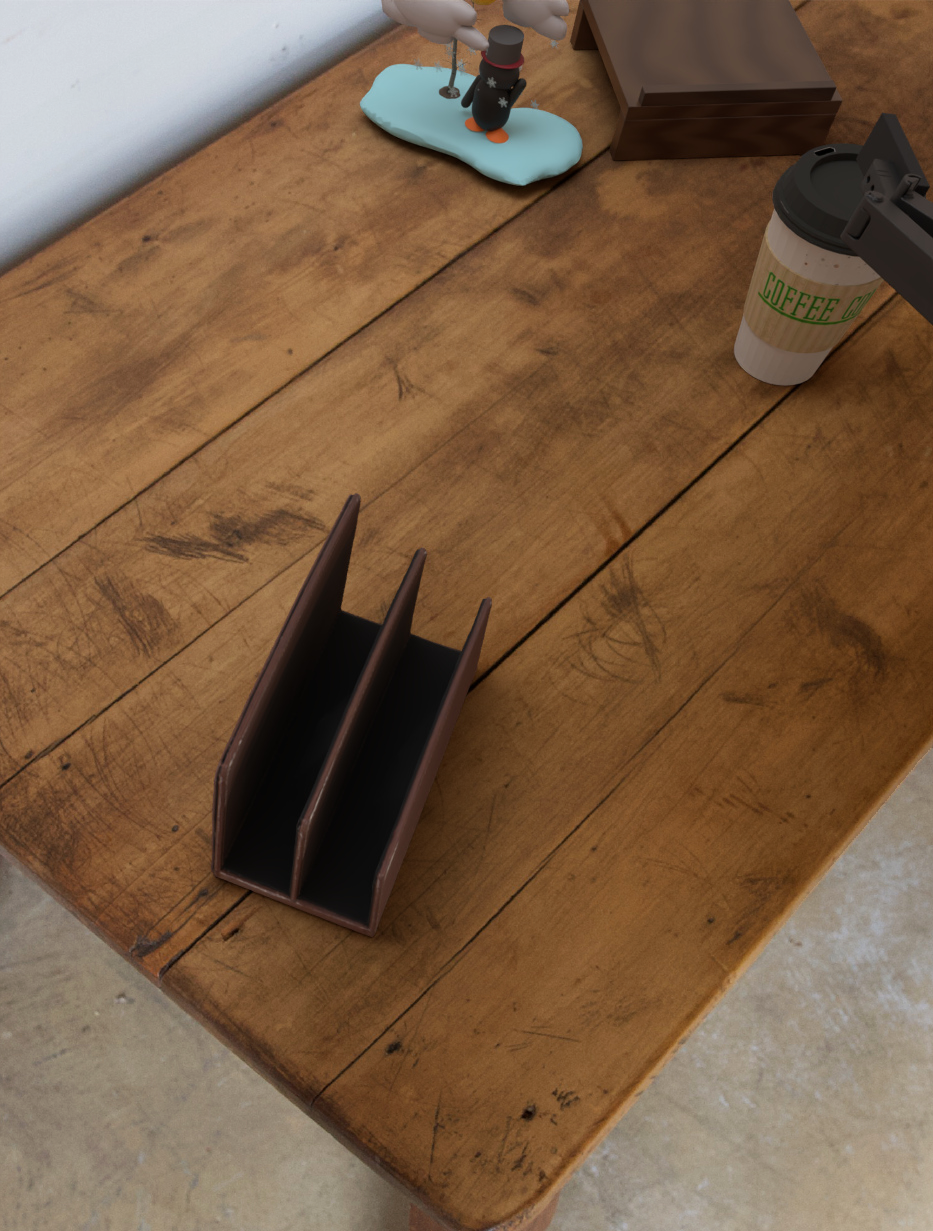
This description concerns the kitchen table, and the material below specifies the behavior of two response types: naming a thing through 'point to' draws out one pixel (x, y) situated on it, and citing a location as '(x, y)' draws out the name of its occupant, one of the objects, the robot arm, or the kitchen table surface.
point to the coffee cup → (805, 270)
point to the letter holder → (338, 746)
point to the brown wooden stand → (709, 77)
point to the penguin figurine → (476, 92)
